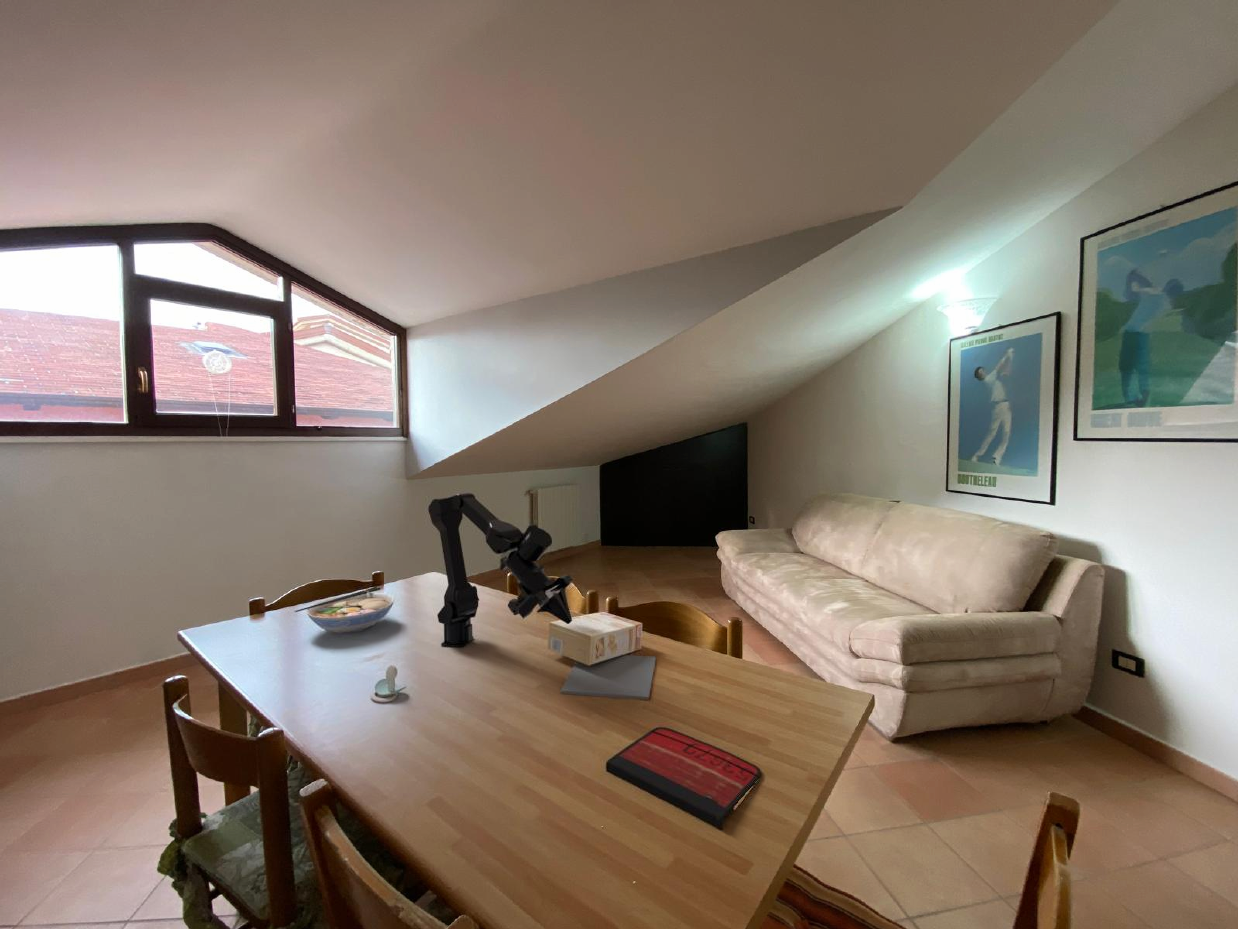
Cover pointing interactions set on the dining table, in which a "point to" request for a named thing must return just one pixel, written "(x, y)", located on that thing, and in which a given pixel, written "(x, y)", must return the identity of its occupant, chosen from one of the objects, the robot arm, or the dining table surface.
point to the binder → (685, 773)
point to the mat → (612, 678)
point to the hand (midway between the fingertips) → (570, 622)
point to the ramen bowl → (350, 611)
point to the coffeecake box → (595, 637)
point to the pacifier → (385, 690)
